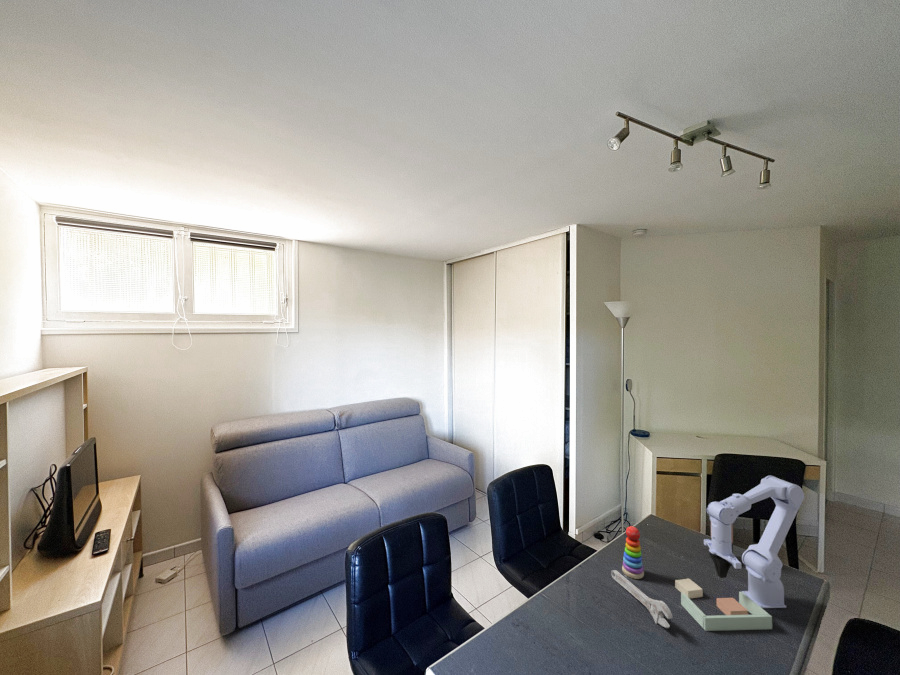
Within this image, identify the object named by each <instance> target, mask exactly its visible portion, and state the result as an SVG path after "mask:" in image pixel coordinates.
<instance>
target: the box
mask: <svg viewBox="0 0 900 675" xmlns="http://www.w3.org/2000/svg"><path fill="white" fill-rule="evenodd" d="M738 602H739V603H740V604H741V605H742V606H743V607H744V608H746V609H747V610H748V613H750V614H748V615H726V614H723V615H719V614H717V615H706V614H705V613H704V612H703V611H702V609H700V608H699V606H697V605H696V603H695V602H694V601H692V600H691V598H690V599H689V598H688V597H687V596H686V595H685V594H684V593H681V592H680V605H681V606H682V607H683V608H684V609H685V610H686V611H687V612H688V614H689V615H690V616H691V617H692V618H693V619H694V620H695V621H696V622H697V623H698V624H699V626H701V628H702V629H703V630H704V631H705V632H707V631H708V632H709V631H710V632H711V631H713V632H715V631H747V630H748V631H750V630H751V631H752V630H755V631H756V630H773V616H772V615H771V614H769V613H768V612H767V611H766V610H765V609H764V608H761V607H760V606H759V605H757V604H756V603H755V602H754V601H753V600H751V599H750V598H749V597H748V596H747V595H745V594H744V593H743V592H742V591H739V592H738Z"/></svg>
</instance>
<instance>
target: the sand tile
mask: <svg viewBox="0 0 900 675" xmlns="http://www.w3.org/2000/svg"><path fill="white" fill-rule="evenodd" d="M674 581H675V582H674V587H675V589H677V591H679V592H680V594H681V593H684V594H685V595H686V596H687V597H688V598H689V599H690V600H691V599H697V598H702V597H704V594H703V593H704V592H703V591H704V590H703V588H701V586H699V585H698V584H697V583H696V582H694V581H693V580H692V579H691V578H683V579H675V580H674Z"/></svg>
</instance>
